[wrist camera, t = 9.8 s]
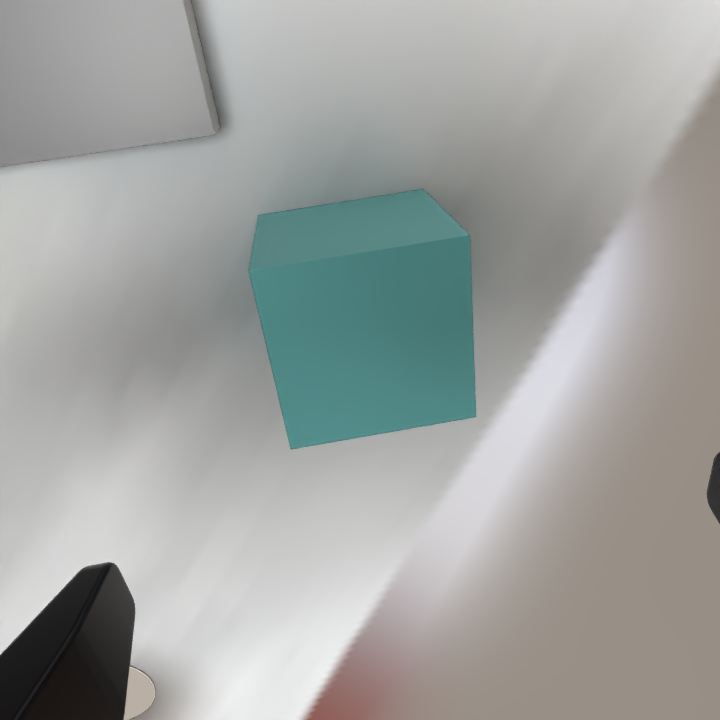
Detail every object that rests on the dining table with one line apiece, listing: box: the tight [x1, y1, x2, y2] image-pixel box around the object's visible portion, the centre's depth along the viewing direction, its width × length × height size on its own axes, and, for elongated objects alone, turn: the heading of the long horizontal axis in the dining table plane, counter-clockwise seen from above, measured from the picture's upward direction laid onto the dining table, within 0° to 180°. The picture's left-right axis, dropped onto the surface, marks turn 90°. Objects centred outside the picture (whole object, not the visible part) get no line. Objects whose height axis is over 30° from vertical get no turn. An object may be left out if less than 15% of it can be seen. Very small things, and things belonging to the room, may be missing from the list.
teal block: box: [249, 189, 476, 449], centre depth 16 cm, size 5×5×5 cm
